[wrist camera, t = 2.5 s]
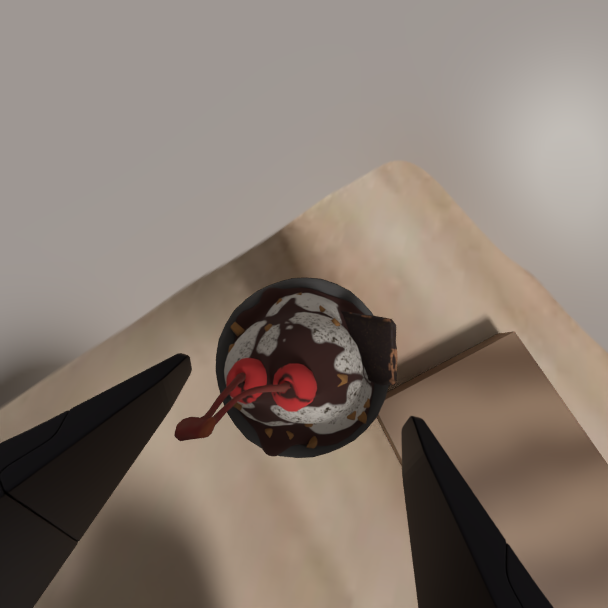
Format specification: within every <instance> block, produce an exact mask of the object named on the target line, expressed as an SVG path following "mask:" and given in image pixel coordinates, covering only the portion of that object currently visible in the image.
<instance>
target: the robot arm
mask: <svg viewBox="0 0 608 608" xmlns="http://www.w3.org/2000/svg"><path fill="white" fill-rule="evenodd" d="M191 370H192V367H191V361H190V357H189V356H188V355H185V354H182V353H179V354H176V355H174V356H172V357H170V358H168V359H166V360H164V361H162V362H161V363H159V364H157V365H155V366H153V367H151V368H149V369H147V370H145V371H143V372H141V373H139V374H137V375H135V376H133V377H132V378H130V379H128V380H126V381H124V382H122V383H120V384H118V385H116V386H114V387H112V388H110V389H108V390H106V391H104V392H102V393H101V394H99V395H97V396H95V397H93V398H91V399H89V400H87V401H85V402H83V403H81V404H79V405H77V406H75V407H73V408H71V409H70V411H65V412H64V413H62V414H60V415H58V416H56V417H54V418H52V419H50V420H48V421H46V422H44V423H42V424H40V425H38V426H36V427H34V428H32V429H30V430H28V431H25V432H23V433H21V434H19V435H17V436H15V437H13V438H10V439H8V440H6V441H4V442H2V443H0V608H33V607H34V605H35V604H36V603H37V601H38V600H39V598H40V597H41V595H42V594H43V592H44V591H45V590H46V588H47V587H48V585H49V584H50V582H51V581H52V580H53V578H54V577H55V575H56V574H57V572H58V571H59V569H60V568H61V567H62V565H63V564H64V562H65V561H66V559H67V558H68V556H69V555H70V554H71V552H72V551H73V549H74V548H75V546H76V545H77V543H78V541H79V540H80V539H81V538H82V536H83V535H84V533H85V532H86V530H87V529H88V527H89V526H90V525H91V523H92V522H93V520H94V519H95V517H96V516H97V514H98V513H99V512H100V510H101V509H102V507H103V506H104V504H105V503H106V502H107V500H108V499H109V497H110V496H111V494H112V493H113V491H114V490H115V489H116V487H117V486H118V484H119V483H120V481H121V480H122V479H123V477H124V476H125V474H126V473H127V471H128V470H129V468H130V467H131V466H132V464H133V463H134V461H135V460H136V458H137V457H138V456H139V454H140V453H141V451H142V450H143V448H144V447H145V445H146V444H147V443H148V441H149V440H150V438H151V437H152V435H153V434H154V433H155V431H156V430H157V428H158V427H159V425H160V424H161V422H162V421H163V420H164V418H165V417H166V415H167V414H168V412H169V411H170V409H171V408H172V406H173V404H174V403H175V401H176V399H177V397H178V395H179V394H180V392H181V390H182V388H183V386H184V385H185V383H186V381H187V379H188V377H189V376H190V374H191ZM401 441H402V477H403V486H404V494H405V503H406V511H407V519H408V527H409V535H410V543H411V551H412V559H413V568H414V576H415V584H416V592H417V600H418V608H554V607H553V606H552V604H551V603H550V602H549V600H548V599H547V598H546V596H545V595H544V594H543V592H542V591H541V590H540V588H539V587H538V585H537V584H536V583H535V581H534V580H533V578H532V577H531V575H530V574H529V573H528V571H527V570H526V568H525V567H524V565H523V564H522V563H521V561H520V560H519V558H518V557H517V555H516V554H515V552H514V551H513V549H512V548H511V547H510V545H509V544H508V543H506V539H505V538H504V536H503V535H502V534H501V532H500V531H499V529H498V528H497V526H496V525H495V523H494V522H493V520H492V519H491V517H490V516H489V515H488V513H487V512H486V510H485V509H484V507H483V506H482V504H481V503H480V501H479V500H478V498H477V497H476V496H475V494H474V493H473V491H472V490H471V488H470V487H469V485H468V484H467V482H466V481H465V479H464V478H463V477H462V475H461V474H460V472H459V471H458V469H457V468H456V466H455V465H454V463H453V462H452V460H451V459H450V458H449V456H448V455H447V453H446V452H445V450H444V449H443V447H442V446H441V444H440V443H439V441H438V440H437V438H436V437H435V436H434V434H433V433H432V431H431V430H430V428H429V427H428V425H427V424H426V422H425V421H424V420H423V419H422V418H419V417H416V416H410V417H409V418H408V420H407V421H406V423H405V424H404V425H403V427H402V431H401Z"/></svg>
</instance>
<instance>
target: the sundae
mask: <svg viewBox="0 0 608 608" xmlns="http://www.w3.org/2000/svg"><path fill="white" fill-rule="evenodd" d="M216 375H217V381H218V387H219V390H220V395H219V396H218V398H217V399H216V401H215V402H214V403H213V405H212V406H211V408H210V409H209V411H208V412H207V413H206V414H205V416H203V417H201V418H199V417H189V418H185V419H183V420H182V421H181V422H180V423H178V424H177V427H176V431H175V437H176V438H177V439H178V440H179V441H184V440H191V439H198V438H205V437H208V436H209V435H210V434H211V433H212V431H213V429H214V426H215V425H216V424H217V423H218V422H219V420H220V419H221V418H222V417H223V416H224V415H225V413H226V412H227V413H228V415H229V416H230V418H231V419H232V421H233V422H234V424H235V425H236V427H237V428H238V429H239V430H240V431H241V432H242V434H243V435H244V436H245V437H246V438H247V439H248V440H249V441H251V442H253V443H254V444H256V445H257V446H259V447H260V448H262V449H263V451H264V452H265V453H266V454H267V455H269V456H277V455H278V456H284V457H294V458H306V457H315V456H319V455H323V454H326V453H329V452H332V451H334V450H337V449H339V448H341V447H343V446H345V445H347V444H348V443H350V442H352V441H354V440H355V439H356V438H357V437H359V436H360V435H361V434H362V433H363V432H364V431H365V430H366V429H367V428H368V427H369V426H370V424H371V423H372V422H373V421H374V420H375V419H376V417H377V416H378V414H379V412H380V410H381V407H382V405H383V403H384V401H385V398H386V394H387V390H388V387H389V385H393V384H395V382H396V376H397V347H396V324H395V323H394V322H393V320H392V319H388V318H383V317H378V316H373V314H372V312H371V311H370V310H369V309H368V308H367V307H366V306H365V304H364V303H363V302H362V301H361V300H360V299H359V298H357V297H356V296H355V295H354V294H353V293H352V292H351V291H349V290H347V289H345V288H343V287H341V286H339V285H337V284H335V283H332V282H329V281H326V280H323V279H318V278H292V279H288V280H284V281H280V282H277V283H274V284H272V285H269V286H267V287H265V288H263V289H261V290H258V291H257V292H255V293H254V294H252V295H251V296H250V297H248V298H247V299H246V300H245V301H244V302H243V303H242V304H240V305H239V306H238V307H237V308H236V309H235V310H234V312H233V313H232V315H231V316H230V318H229V320H228V321H227V323H226V324H225V327H224V329H223V331H222V333H221V336H220V338H219V341H218V348H217V354H216ZM222 402H223V403H224V407H223V408H222V409H221V410H220V411H218V412H217V413H216V414H215V415H214V416H213V414H214V413H215V411H216V410H217V409H218V407H219V406H220V404H221V403H222ZM212 416H213V417H212Z"/></svg>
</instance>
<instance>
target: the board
mask: <svg viewBox="0 0 608 608" xmlns="http://www.w3.org/2000/svg"><path fill="white" fill-rule="evenodd" d="M410 416H416V417H419V418H422V419H423V420H424V421H425V422H426V424H427V425H428V427H429V428H430V430H431V431H432V433H433V434H434V436H435V437H436V438H437V440H438V441H439V443H440V444H441V446H442V447H443V449H444V450H445V452H446V453H447V455H448V456H449V458H450V459H451V460H452V462H453V463H454V465H455V466H456V468H457V469H458V471H459V472H460V474H461V475H462V477H463V478H464V479H465V481H466V482H467V484H468V485H469V487H470V488H471V490H472V491H473V493H474V494H475V496H476V497H477V498H478V500H479V501H480V503H481V504H482V506H483V507H484V509H485V510H486V512H487V513H488V515H489V516H490V517H491V519H492V520H493V522H494V523H495V525H496V526H497V528H498V529H499V531H500V532H501V534H502V535H503V536H504V538H505V539H506V543H508V544H509V545H510V547H511V548H512V549H513V551H514V552H515V554H516V555H517V557H518V558H519V560H520V561H521V563H522V564H523V565H524V567H525V568H526V570H527V571H528V573H529V574H530V575H531V577H532V578H533V580H534V581H535V583H536V584H537V585H538V587H539V588H540V590H541V591H542V592H543V594H544V595H545V596H546V598H547V599H548V600H549V602H550V603H551V604H552V606H553V607H554V608H608V464H607V463H606V461H605V460H604V458H603V457H602V456H601V454H600V453H599V451H598V450H597V448H596V447H595V446H594V444H593V443H592V441H591V440H590V438H589V437H588V436H587V434H586V433H585V431H584V430H583V428H582V427H581V426H580V424H579V423H578V421H577V420H576V418H575V417H574V416H573V414H572V413H571V411H570V410H569V408H568V407H567V406H566V404H565V403H564V401H563V400H562V398H561V397H560V396H559V394H558V393H557V391H556V390H555V388H554V387H553V386H552V384H551V383H550V381H549V380H548V379H547V377H546V376H545V374H544V373H543V371H542V370H541V369H540V367H539V366H538V364H537V363H536V361H535V360H534V359H533V357H532V356H531V354H530V353H529V351H528V350H527V349H526V347H525V346H524V344H523V343H522V341H521V340H520V339H519V337H518V336H517V334H516V333H515V332H507V333H499V334H497V335H495V336H493V337H491V338H489V339H487V340H485V341H483V342H481V343H480V344H478V345H476V346H474V347H472V348H470V349H468V350H466V351H464V352H462V353H461V354H459V355H457V356H455V357H453V358H451V359H449V360H447V361H445V362H443V363H442V364H440V365H438V366H436V367H434V368H432V369H430V370H428V371H426V372H424V373H423V374H421V375H419V376H417V377H415V378H413V379H411V380H409V381H407V382H405V383H404V384H402V385H400V386H398V387H396V388H394V389H392V390H390V391H388V392H387V394H386V398H385V401H384V403H383V405H382V407H381V410H380V412H379V414H378V416H377V419H378V421H379V423H380V424H381V426H382V428H383V430H384V432H385V434H386V436H387V438H388V440H389V442H390V444H391V446H392V448H393V450H394V452H395V454H396V456H397V458H398V460H399V462H400V463H401V465H402V441H401V431H402V427H403V425H404V424H405V423H406V421H407V420H408V418H409V417H410Z"/></svg>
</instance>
